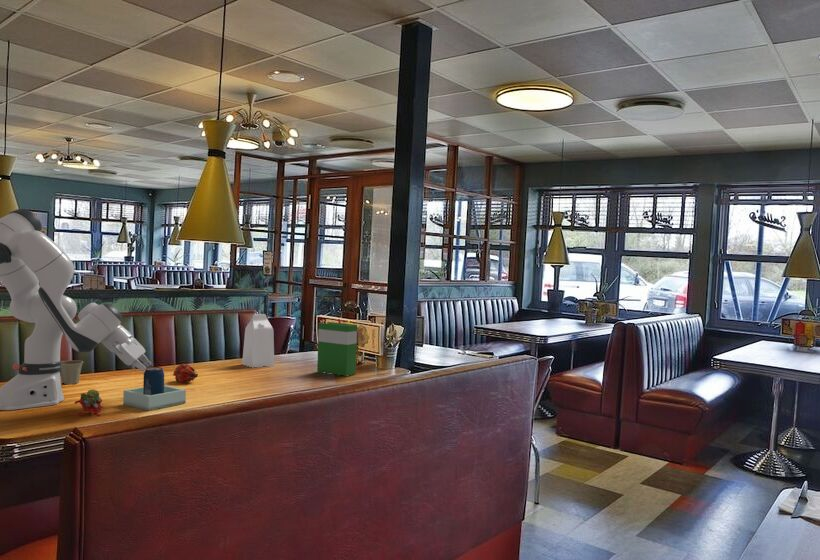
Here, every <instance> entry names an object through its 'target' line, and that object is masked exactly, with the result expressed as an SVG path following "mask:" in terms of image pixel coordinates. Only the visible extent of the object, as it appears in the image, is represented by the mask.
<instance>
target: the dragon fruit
mask: <svg viewBox="0 0 820 560" xmlns="http://www.w3.org/2000/svg"><path fill="white" fill-rule="evenodd" d="M198 375H199V374H198V373H197V371H196V370H195V368H193V366H191V365H189V364H188V363H187V364H186V363H181V364H179V365H178V366H176V368H175V370H173V374H172V376H173V377H175V378H174V379H175V381H176V383H177V382H181V383H183V384H189V382H188V381H190V382H193V381H194V380H195V378H198Z"/></svg>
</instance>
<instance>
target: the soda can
mask: <svg viewBox="0 0 820 560" xmlns="http://www.w3.org/2000/svg"><path fill="white" fill-rule="evenodd" d="M164 385H165V371H164V368H163V367H161V366H151V367H150V366H149V367H147V368H146V369H145V370H144V371H143V386H142V387H143V394H145V395H149V396H150V395H156V394H162V393H164Z"/></svg>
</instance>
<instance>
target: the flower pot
mask: <svg viewBox="0 0 820 560" xmlns="http://www.w3.org/2000/svg"><path fill="white" fill-rule="evenodd" d="M83 364H84V361H83V360H61V375H60V380H61V384H62V383H64V384H63V385H74V384H78V383H80V377H81V371H82V367H83Z"/></svg>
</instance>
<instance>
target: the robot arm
mask: <svg viewBox="0 0 820 560" xmlns="http://www.w3.org/2000/svg"><path fill="white" fill-rule="evenodd" d="M42 229H43V226H42V222H41V220H40V219H39V217H38V216H37V215H36V214H35V213H34V212H32V211H31V210H28V209H25V208H18V209H15V210H12V211H10V212H9V214H6V215H5V216H4V215H3V217H0V281H1V283H2V284H3V286H4V287H5V288H6V290H7V291H8V293H9V296H10V299H11V301H10V304H9V312H10V314H11V315H12V316H13V318H16V319H18V320H20V321H23V322H26V323H32V324H33V323H34V324H35V325H34V329H33V331H32V333H31V335H29V336H28V337H27V338H26V339H25V341H24V351H23V352H24V353H23V354H24V361H23V362H22V363H21V364H18V363H14V364H13V366H12V369H13V370H15V371H18V373H17V374H16V375H15V376H14V377H13V378H10V380H8V381H7V382H5V384H3V385H1V387H0V411H1V410H2V411H14V410H15V411H16V410H23V409H31V408H38V407H45V406H53V405H58V404H59V403H60V402H62V401H64V400H65V396H64V392H63V388H62V381H61V362H62V360H61V345H62V344H61V343H62V339H63V335H64V337H65V339H66V341H67V342H68V345H69V346H70V347H71V348H72V349H73V350H74V351H76V352H77V353H89V352H93V350H95V348H97V346H99V344H100V343H101V344H102V345H103V346H105V348H106V349H107V350H109V352H111V353H114V354H115V355H116V356H117V357H118V358H119V359H120V360H121V362H123V364H125V365H127V366H128V367H129V366H131V365H132V366H134V367H135V368H137V369H138V370H140V371H141V372H143V373H144V372H145V370H146V368H149V367H150V366H151V365H152V362H151V361H150V360H149V359H148V357H147V356H146V354H145V353H146V352H147V351H146V349H145V347H144V346H143V345H142V344H141V343H140V342H139V340H137V339H136V338H135V337H134V333H133V332H131V331H129V330H127V329H126V328H125V326H123V325H121V323H122V322H123V314H122V313H121V312H120V311H119V310H118V309H117V308H116V307H115V306H114V305H113V304H112V303H102V304H97V303H96V302H90V303H88V304H86V305H85V306H83V307H82V308H81V309H80V311H79V312H78V314H77V310H78V308H77V304H76V303H77V302H76V301H75V300H74V299H73V298H71V297H69V296H67V295H64V293H65V291H66V289H67V288H68V286H69V285H70V283H71V282H72V279H73V276H74V274H75V273H74V272H75V268H74V267H75V266H74V263H73V261H72V260H71V258H70V257H69V256H68V255H67V253H66V252H65V251H64V250H63V249H62V248H61V247H60V246H59V245H58V244H57V243H56V242H55V241H53V240H52V238H50V237H49V236H47V235H46V234H45V233H44V232H42ZM76 315H77V319H78V320H79V321H77V323H75V322H74V321H73V319H74V318H75V316H76Z"/></svg>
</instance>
